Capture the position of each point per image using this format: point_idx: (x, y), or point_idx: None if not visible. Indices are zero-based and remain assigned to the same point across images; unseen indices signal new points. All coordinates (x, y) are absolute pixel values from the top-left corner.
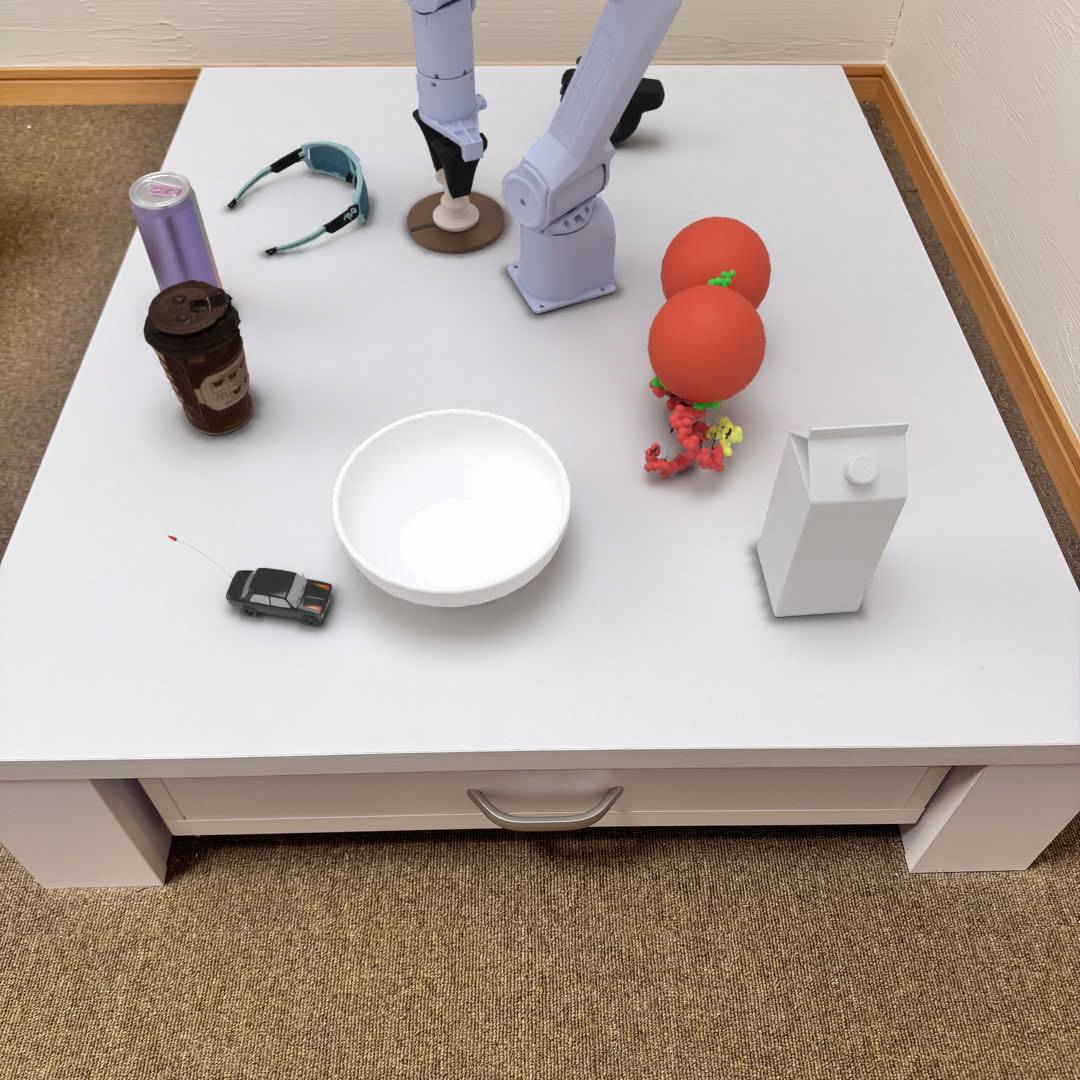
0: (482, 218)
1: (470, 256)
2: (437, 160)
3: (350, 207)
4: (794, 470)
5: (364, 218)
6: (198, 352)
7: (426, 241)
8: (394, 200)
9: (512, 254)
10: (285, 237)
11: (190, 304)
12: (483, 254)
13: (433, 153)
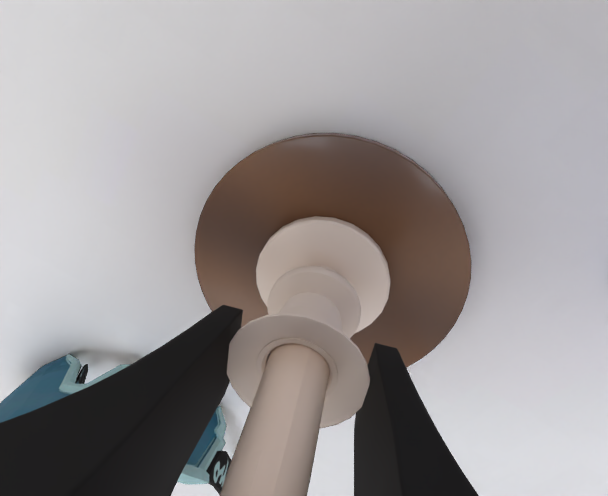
0: (367, 219)
1: (468, 317)
2: (207, 413)
3: (211, 483)
4: None
5: (215, 413)
6: None
7: None
8: (170, 325)
9: (557, 228)
10: (196, 492)
11: None
12: (488, 289)
13: (188, 455)
